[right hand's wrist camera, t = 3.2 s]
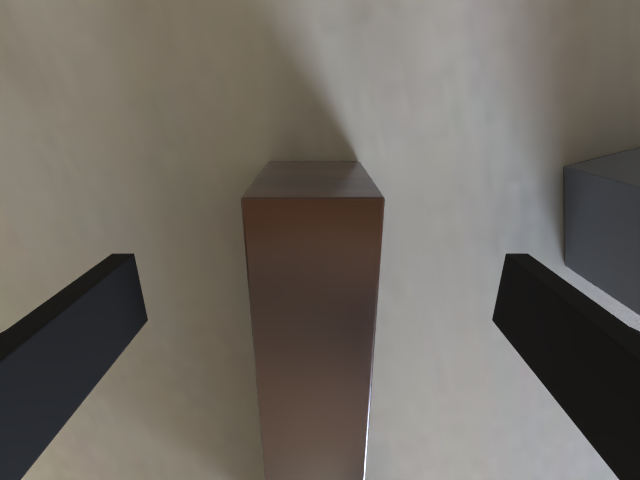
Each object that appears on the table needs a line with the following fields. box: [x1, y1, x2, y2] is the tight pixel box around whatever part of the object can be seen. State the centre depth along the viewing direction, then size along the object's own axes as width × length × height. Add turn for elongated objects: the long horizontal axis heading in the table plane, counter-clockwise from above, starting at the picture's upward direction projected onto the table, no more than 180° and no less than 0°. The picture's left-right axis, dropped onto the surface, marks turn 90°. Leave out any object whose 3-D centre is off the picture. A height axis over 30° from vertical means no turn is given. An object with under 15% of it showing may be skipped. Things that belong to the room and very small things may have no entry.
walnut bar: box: [241, 162, 385, 480], centre depth 17 cm, size 24×4×6 cm, turn 0°
